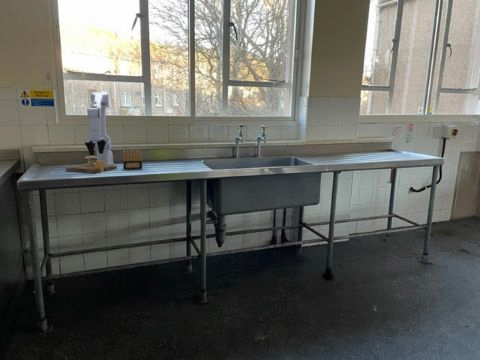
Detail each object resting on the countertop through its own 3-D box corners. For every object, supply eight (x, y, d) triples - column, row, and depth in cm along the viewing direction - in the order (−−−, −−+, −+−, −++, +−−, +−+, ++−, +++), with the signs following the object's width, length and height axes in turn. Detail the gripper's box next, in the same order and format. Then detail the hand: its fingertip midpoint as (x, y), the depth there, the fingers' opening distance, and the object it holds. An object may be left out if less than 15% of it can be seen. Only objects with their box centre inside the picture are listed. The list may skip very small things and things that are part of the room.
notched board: (89, 166, 216) (89, 163, 216) (116, 168, 210) (116, 165, 210) (66, 170, 200) (65, 167, 199) (95, 173, 193) (95, 170, 193)
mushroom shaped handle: (90, 164, 212) (90, 155, 211) (99, 164, 210) (98, 156, 209) (83, 165, 206) (82, 157, 205) (91, 166, 204) (91, 157, 203)
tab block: (99, 170, 202) (98, 160, 201) (103, 171, 202) (103, 160, 201) (95, 171, 199) (95, 161, 198) (100, 171, 199) (100, 161, 198)
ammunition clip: (142, 168, 212) (141, 148, 210) (142, 169, 211) (141, 148, 208) (123, 169, 209) (122, 148, 207) (123, 169, 207) (122, 149, 205)
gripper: (97, 129, 205) (99, 152, 208) (79, 130, 192) (81, 155, 194) (108, 129, 203) (109, 153, 206) (90, 130, 190) (92, 156, 192)
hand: (96, 154), depth 200 cm, fingers open, 7 cm apart
